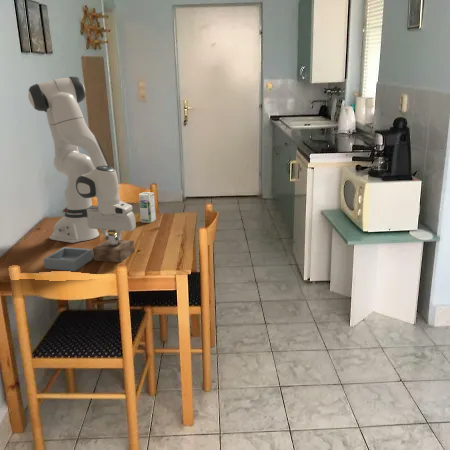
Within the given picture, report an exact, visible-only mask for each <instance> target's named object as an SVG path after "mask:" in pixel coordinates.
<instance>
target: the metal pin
mask: <svg viewBox="0 0 450 450" xmlns="http://www.w3.org/2000/svg"><path fill="white" fill-rule="evenodd" d="M107 233H108V239H109V247H117V246H118V240H116V238H115V236H117V235H118V233H117V230H107Z"/></svg>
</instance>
